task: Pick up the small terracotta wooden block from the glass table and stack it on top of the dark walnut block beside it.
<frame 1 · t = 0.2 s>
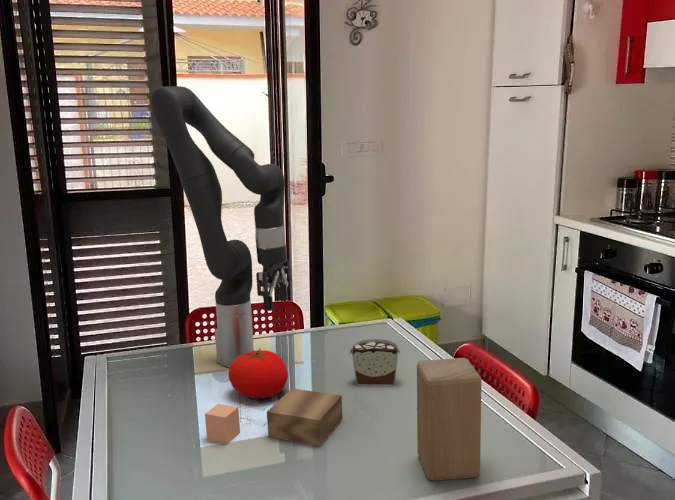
hand: (276, 305, 170), 17 cm above the table, tool pointing down, fingers open, 8 cm apart
tomato: (260, 394, 159), on the table
food container: (376, 381, 164), on the table
terracotta block: (223, 436, 139), on the table
wooden block: (447, 467, 125), on the table
walnut block: (306, 429, 141), on the table
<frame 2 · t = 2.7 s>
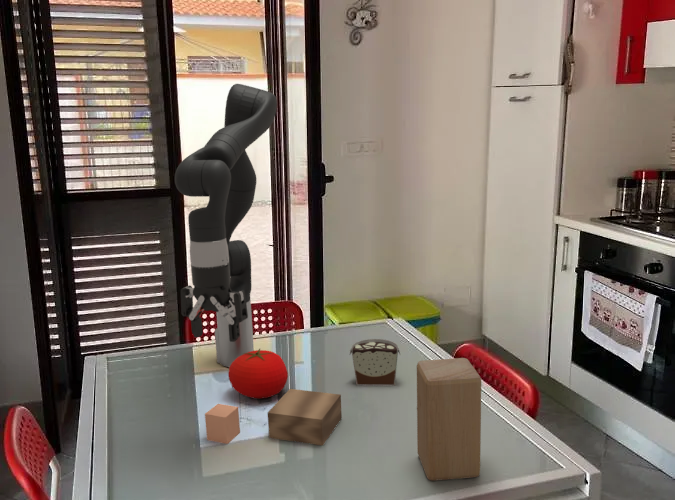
hand: (216, 338, 134), 22 cm above the table, tool pointing down, fingers open, 8 cm apart
nothing on the table moved.
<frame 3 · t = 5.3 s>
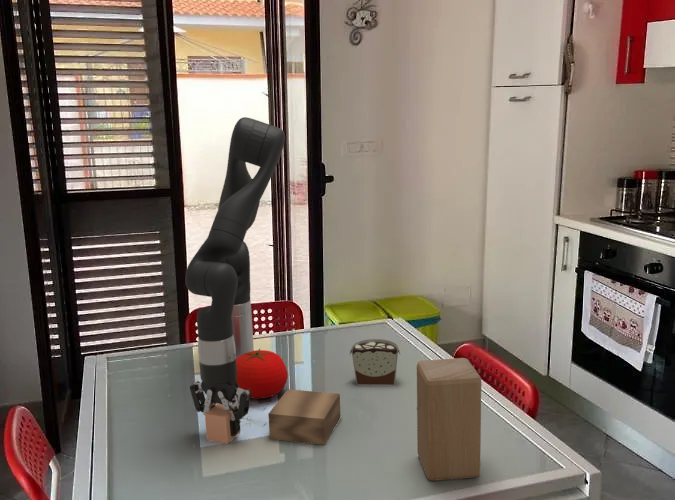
hand: (223, 432, 139), 1 cm above the table, tool pointing down, fingers closed on terracotta block, 5 cm apart
terracotta block: (223, 436, 139), on the table, touching gripper
everything else where it was.
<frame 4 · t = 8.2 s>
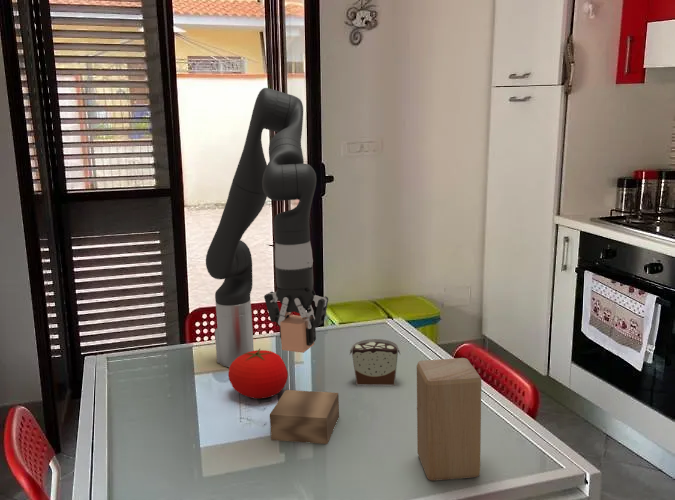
hand: (298, 342, 137), 19 cm above the table, tool pointing down, fingers closed on terracotta block, 5 cm apart
terracotta block: (298, 347, 137), point 19 cm above the table, touching gripper
everything else where it was.
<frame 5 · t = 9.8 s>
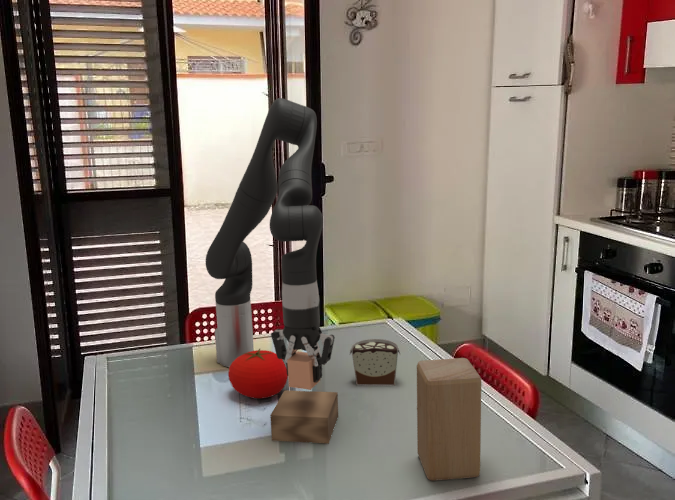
hand: (304, 379, 139), 11 cm above the table, tool pointing down, fingers closed on terracotta block, 5 cm apart
terracotta block: (304, 383, 139), point 10 cm above the table, touching gripper
everything else where it was.
when the fingers open (8 cm above the table, at t = 11.2 s): terracotta block drops 2 cm, resting on walnut block.
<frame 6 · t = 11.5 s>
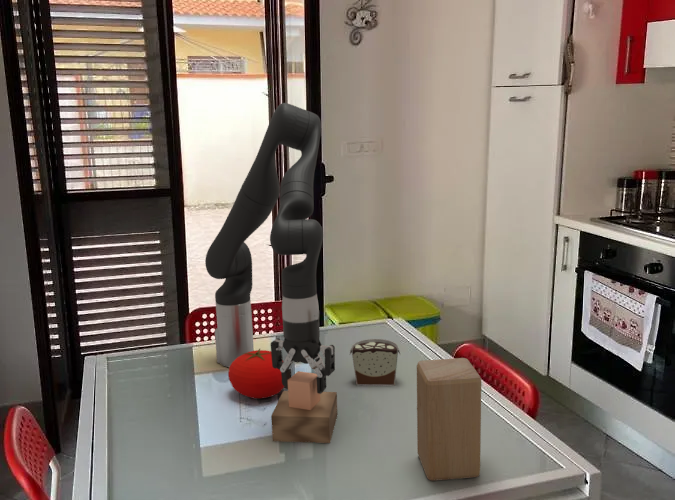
hand: (304, 389, 139), 9 cm above the table, tool pointing down, fingers open, 7 cm apart
terracotta block: (304, 403, 140), point 6 cm above the table, touching walnut block
walnut block: (306, 429, 141), on the table, touching terracotta block
everything else where it was.
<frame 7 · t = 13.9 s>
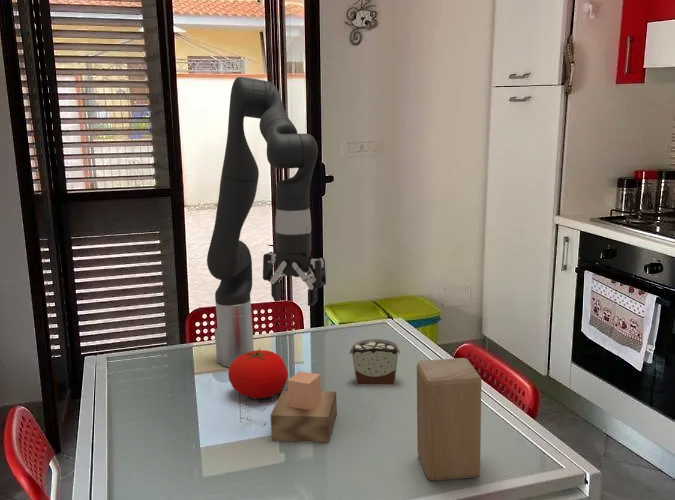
hand: (294, 302, 143), 26 cm above the table, tool pointing down, fingers open, 8 cm apart
terracotta block: (305, 403, 140), point 6 cm above the table
walnut block: (305, 428, 142), on the table
everything else where it was.
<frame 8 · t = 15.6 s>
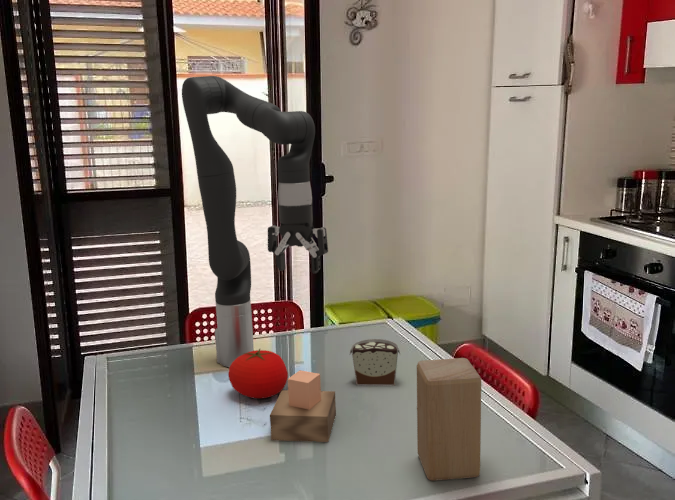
hand: (298, 271, 152), 30 cm above the table, tool pointing down, fingers open, 8 cm apart
nothing on the table moved.
at the end: terracotta block inside the target area on the walnut block (0.3 cm from its centre), point 6.0 cm above the walnut block's base; terracotta block tilted 0°; the gripper is holding nothing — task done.
